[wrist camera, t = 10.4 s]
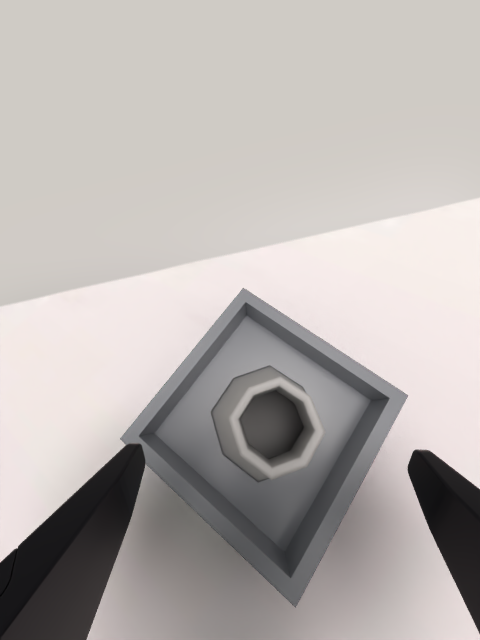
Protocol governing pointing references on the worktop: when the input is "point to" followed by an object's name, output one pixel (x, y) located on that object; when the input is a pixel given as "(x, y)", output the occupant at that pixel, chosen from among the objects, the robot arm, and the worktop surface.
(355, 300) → the worktop surface
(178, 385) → the box
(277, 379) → the flask
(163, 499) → the worktop surface
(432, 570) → the worktop surface
